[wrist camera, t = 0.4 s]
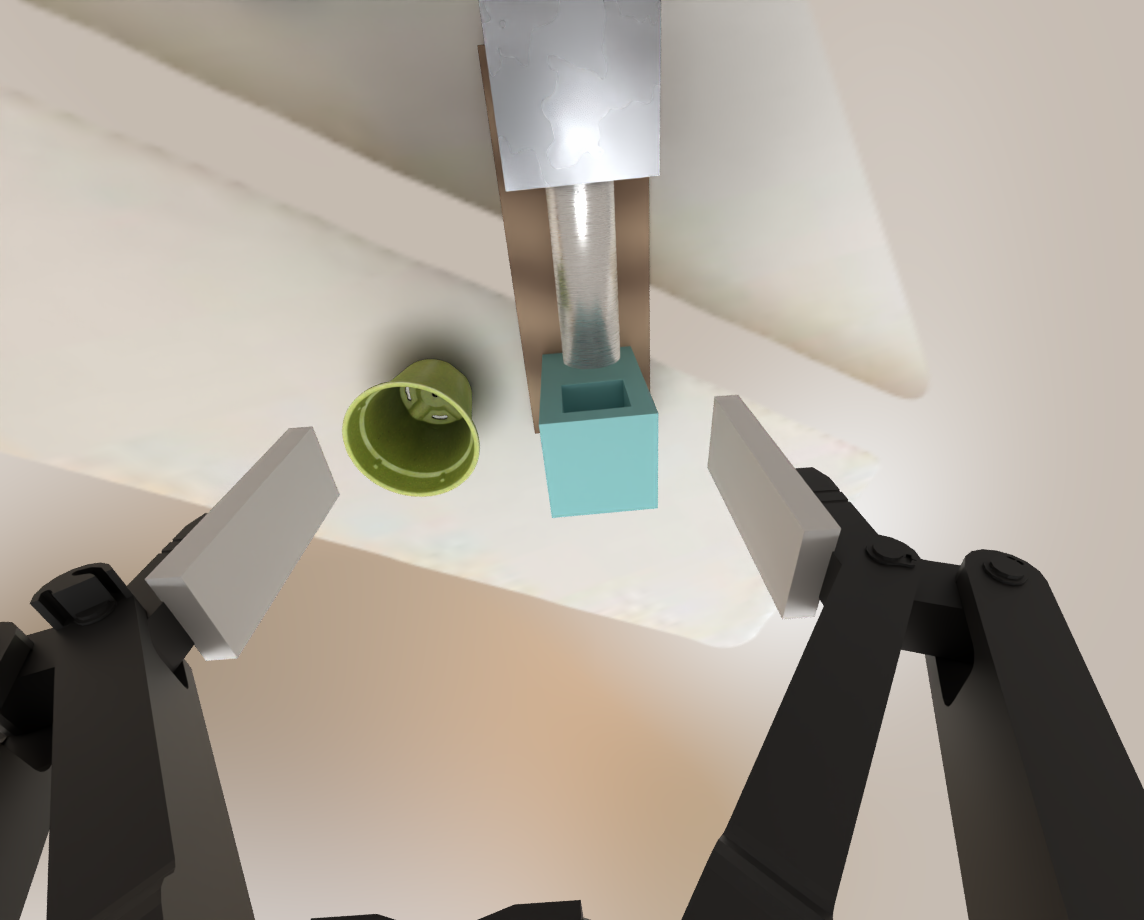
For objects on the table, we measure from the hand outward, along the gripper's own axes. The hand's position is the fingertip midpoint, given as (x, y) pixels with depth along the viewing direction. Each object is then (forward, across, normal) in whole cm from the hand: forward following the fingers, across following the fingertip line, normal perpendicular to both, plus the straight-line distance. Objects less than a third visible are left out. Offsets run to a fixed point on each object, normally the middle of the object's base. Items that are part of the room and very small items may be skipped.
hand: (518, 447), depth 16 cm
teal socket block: (+23, +4, -9) cm, 25 cm away
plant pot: (+25, -10, -8) cm, 28 cm away
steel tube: (+16, +3, +6) cm, 18 cm away
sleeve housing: (+23, +3, +10) cm, 25 cm away
